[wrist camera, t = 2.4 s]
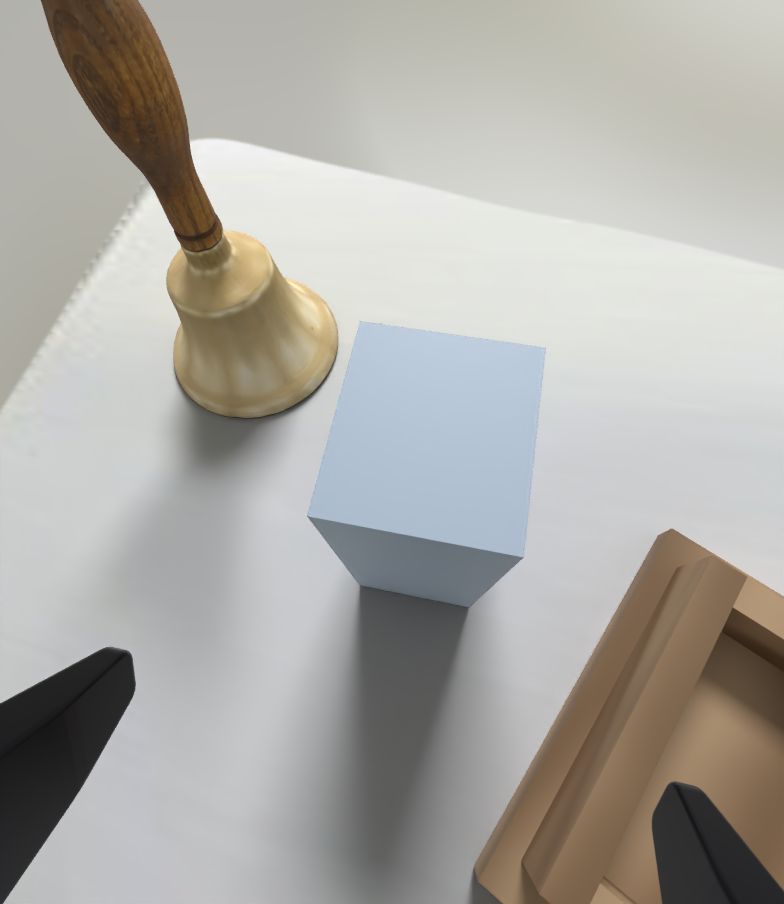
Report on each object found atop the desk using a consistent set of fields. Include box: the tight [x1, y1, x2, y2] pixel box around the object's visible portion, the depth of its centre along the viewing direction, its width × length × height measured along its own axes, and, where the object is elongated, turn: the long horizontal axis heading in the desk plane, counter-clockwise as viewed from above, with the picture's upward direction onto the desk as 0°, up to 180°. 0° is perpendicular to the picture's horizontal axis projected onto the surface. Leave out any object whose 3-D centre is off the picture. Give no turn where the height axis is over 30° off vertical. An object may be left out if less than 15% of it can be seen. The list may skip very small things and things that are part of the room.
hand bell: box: [41, 0, 338, 418], centre depth 18 cm, size 8×8×16 cm
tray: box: [474, 529, 784, 904], centre depth 16 cm, size 12×14×4 cm
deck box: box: [307, 321, 546, 607], centre depth 16 cm, size 5×5×11 cm
